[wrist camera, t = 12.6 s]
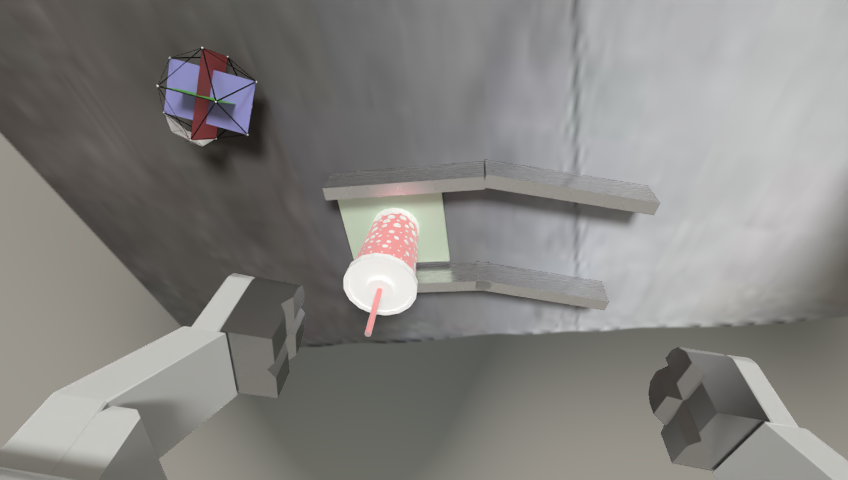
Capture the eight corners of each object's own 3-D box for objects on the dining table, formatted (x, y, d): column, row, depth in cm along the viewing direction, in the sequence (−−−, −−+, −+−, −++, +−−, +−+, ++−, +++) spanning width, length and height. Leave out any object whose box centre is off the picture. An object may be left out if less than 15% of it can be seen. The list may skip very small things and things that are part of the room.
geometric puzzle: (166, 9, 32) (118, 100, 29) (259, 35, 32) (220, 128, 30) (201, 73, 39) (164, 151, 36) (278, 94, 39) (247, 172, 37)
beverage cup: (402, 262, 45) (378, 373, 34) (353, 229, 44) (310, 334, 32) (439, 225, 42) (427, 334, 31) (389, 188, 41) (355, 289, 29)
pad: (440, 182, 40) (440, 184, 40) (449, 258, 45) (449, 261, 45) (336, 189, 42) (335, 191, 41) (356, 262, 47) (355, 265, 46)
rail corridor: (648, 185, 38) (660, 203, 36) (586, 313, 48) (592, 333, 45) (332, 134, 38) (322, 147, 36) (330, 271, 48) (322, 289, 45)
